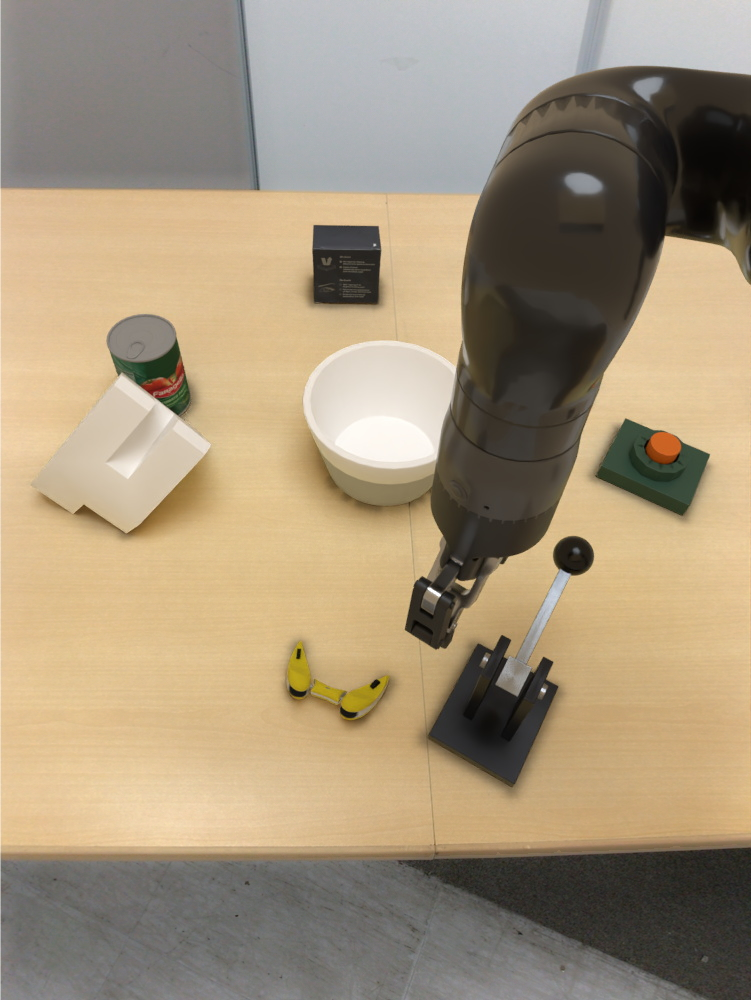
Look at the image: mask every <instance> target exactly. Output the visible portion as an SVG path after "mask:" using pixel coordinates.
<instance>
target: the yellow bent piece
mask: <svg viewBox="0 0 751 1000" xmlns="http://www.w3.org/2000/svg"><path fill="white" fill-rule="evenodd" d="M311 676H312V675H311V671H310V668H309V664H308V661H307V657H306V654H305V649H304V644H303V641H302V640H299V641H298V643H297V644H296V646H295V648H294V650H293V652H292V654H291V656H290V659H289V662H288V667H287V672H286V677H285V683H286V684H285V685H286V688H287V689H286V690H287V692H288V693H289V695H290V697H291V698H293V699H295V700H303V699H305V698H307V696H308V695H309V694H310V695H311V696H312V697H314V698H318V699H320V700H324V701H325V702H328V703H330V704H332V705H334V706H338V705H339V704H340V705H339V715H340V716H341V718H342V719H344V720H347V721H355V720H358V719H360V718H363V717H364V716H366V715H367V714H368V713H369V712H371V711H372V710H373V708H374V707H375V706H376V705H377V704H378V703H379V701H380V700H381V698H382V697H383V695H384V693H385V691H386V689H387V687H388V684H389V680H390V677H391V676H390V675H389V674H386V675H383V676H382V677H380V678H375V679H374V680H373V681H372V682H369V683H367V684H365V685H362V686H360V687H358V688H355V689H353V690H351V691H349V692H348V691H346V690H345V689H339V688H335V687H332V686H330V685H327V684H326V683H323V682H321V681H320V680H318V679H317V678H314V679H313V684H312V677H311ZM309 692H310V693H309ZM347 692H348V693H347Z"/></svg>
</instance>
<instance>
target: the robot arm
mask: <svg viewBox="0 0 751 1000" xmlns="http://www.w3.org/2000/svg"><path fill="white" fill-rule="evenodd" d="M666 237H669V238H676V239H682V240H689V241H694V242H700V243H706V244H711V245H716V246H720V247H723V248H725V249H726V250H727V251H729V252H731V254H732V255H733V256H734V258H735V260H736V262H737V264H738V267H739V270H740V272H741V274H742V275H743V277H744V279H745V280H746V282H747V283H748V284H749V285H750V286H751V74H748V73H739V72H729V71H728V72H727V71H718V70H706V69H696V68H690V67H689V68H688V67H677V66H665V65H663V66H662V65H624V66H623V65H622V66H612V67H606V68H601V69H596V70H590V71H587V72H583V73H580V74H576V75H572V76H570V77H567V78H565V79H562V80H560V81H557V82H555V83H553V84H552V85H550V86H548V87H546V88H545V89H544V90H542V91H540V92H538V93H537V94H536V95H535V96H533V97H532V99H531V100H529V101H528V103H526V104H525V106H523V108H522V109H521V110H520V111H519V112H518V114H517V115H516V116H515V118H514V120H513V122H512V123H511V125H510V127H509V129H508V131H507V133H506V135H505V137H504V139H503V142H502V144H501V147H500V150H499V152H498V155H497V156H496V159H495V161H494V164H493V166H492V168H491V171H490V172H489V175H488V177H487V179H486V182H485V185H484V186H483V189H482V191H481V194H480V195H479V198H478V200H477V203H476V206H475V209H474V211H473V215H472V218H471V223H470V226H469V231H468V236H467V241H466V246H465V251H464V252H465V254H464V259H463V265H462V275H461V286H460V287H461V288H460V293H461V294H460V320H461V322H460V323H461V340H462V341H461V344H460V347H459V351H458V355H457V362H456V366H455V367H456V373H455V379H454V385H453V391H452V397H451V401H450V404H449V407H448V410H447V412H446V415H445V418H444V421H443V425H442V429H441V434H440V441H439V447H438V454H437V459H436V466H435V472H434V478H433V485H432V487H431V492H430V498H429V499H430V500H429V501H430V503H429V504H430V510H431V515H432V517H433V519H434V522H435V525H436V526H437V528H438V529H439V531H440V533H441V535H442V537H441V539H440V541H439V551H438V554H437V556H436V558H435V560H434V562H433V564H432V566H431V568H430V570H429V573H428V575H427V577H425V576H423V575H421V576H420V577H419V578H418V579H416V581H415V582H414V583H413V589H412V591H411V597H410V600H409V601H410V602H409V606H408V611H407V615H406V620H405V626H404V631H405V632H407V633H408V634H410V635H412V636H413V637H414V638H416V639H417V640H420V641H421V642H423V643H424V644H426V645H427V646H429V647H430V648H432V649H433V650H435V651H437V650H440V648H441V649H447V648H449V645H450V644H451V643H452V641H453V638H454V634H455V630H456V628H457V626H458V621H459V619H460V618H461V616H462V614H463V612H464V609H466V610H467V609H469V608H470V607H472V606H473V605H474V604H475V603H476V602H477V600H478V599H479V596H480V595H481V593H482V592H483V591H482V590H483V589H484V587H485V585H486V583H487V581H488V579H489V577H490V576H491V575H492V574H493V573H494V572H495V571H496V570H497V569H498V568H499V567H500V565H504V564H506V562H507V560H508V559H509V557H514V556H517V555H520V554H523V553H526V552H527V551H529V550H531V549H533V547H535V546H536V545H537V544H538V543H539V542H540V541H542V539H543V538H544V537H545V535H546V533H547V532H548V530H549V528H550V526H551V523H552V521H553V518H554V515H555V513H556V511H557V509H558V506H559V504H560V501H561V499H562V497H563V494H564V491H565V489H566V487H567V484H568V482H569V479H570V477H571V474H572V472H573V469H574V466H575V464H576V461H577V459H578V455H579V450H580V444H581V440H582V439H581V438H582V435H583V431H584V428H585V426H586V423H587V421H588V418H589V416H590V413H591V411H592V409H593V405H594V403H595V401H596V398H597V396H598V394H599V391H600V388H601V385H602V382H603V379H604V375H605V372H606V371H607V369H608V368H609V366H610V365H611V363H612V362H613V360H614V359H615V357H616V355H617V354H618V352H619V350H620V348H621V347H622V346H623V344H624V342H625V340H626V338H627V337H628V335H629V333H630V331H631V330H632V328H633V326H634V324H635V322H636V320H637V318H638V316H639V314H640V312H641V309H642V307H643V305H644V302H645V300H646V298H647V295H648V293H649V291H650V288H651V286H652V283H653V280H654V277H655V275H656V272H657V269H658V266H659V263H660V259H661V256H662V252H663V247H664V244H665V240H666V239H665V238H666ZM473 580H474V582H473V584H472V585H471V587H470V588H469V589H468V588H466V587H465V586H463V585H461V584H459V583H457V581H460V582H468V581H473Z"/></svg>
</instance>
